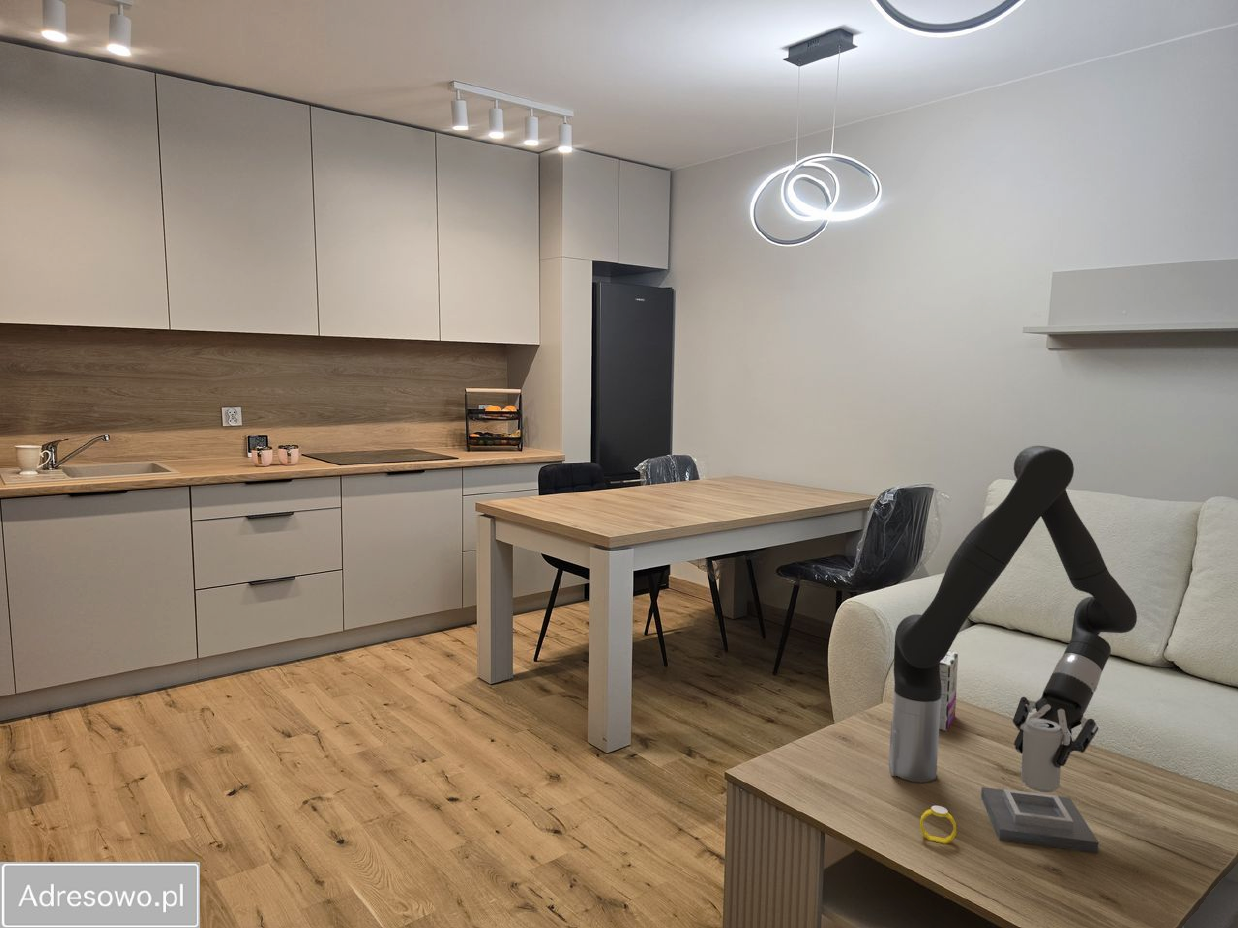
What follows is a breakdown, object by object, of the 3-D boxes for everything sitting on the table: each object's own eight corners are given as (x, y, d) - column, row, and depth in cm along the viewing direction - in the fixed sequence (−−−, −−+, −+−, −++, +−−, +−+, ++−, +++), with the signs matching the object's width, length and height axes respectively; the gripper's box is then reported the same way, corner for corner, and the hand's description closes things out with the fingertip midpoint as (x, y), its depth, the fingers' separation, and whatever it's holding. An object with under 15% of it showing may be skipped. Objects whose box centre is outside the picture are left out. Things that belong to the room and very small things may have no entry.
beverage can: (1064, 795, 147) (1068, 732, 146) (1026, 792, 148) (1029, 729, 147) (1052, 779, 153) (1056, 718, 152) (1016, 775, 154) (1019, 715, 153)
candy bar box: (934, 711, 203) (938, 648, 202) (955, 716, 201) (959, 652, 199) (925, 726, 194) (928, 660, 192) (947, 732, 191) (951, 664, 190)
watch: (953, 841, 145) (958, 810, 144) (954, 849, 143) (959, 817, 142) (918, 831, 147) (922, 801, 146) (918, 839, 145) (922, 808, 144)
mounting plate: (999, 839, 145) (1000, 820, 145) (980, 796, 161) (982, 779, 160) (1097, 853, 142) (1099, 833, 141) (1069, 807, 157) (1070, 789, 157)
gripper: (1029, 661, 159) (992, 733, 153) (1107, 683, 147) (1070, 763, 141) (1041, 682, 162) (1006, 753, 157) (1118, 705, 151) (1083, 783, 145)
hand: (1036, 757), depth 149 cm, fingers closed on beverage can, 6 cm apart
